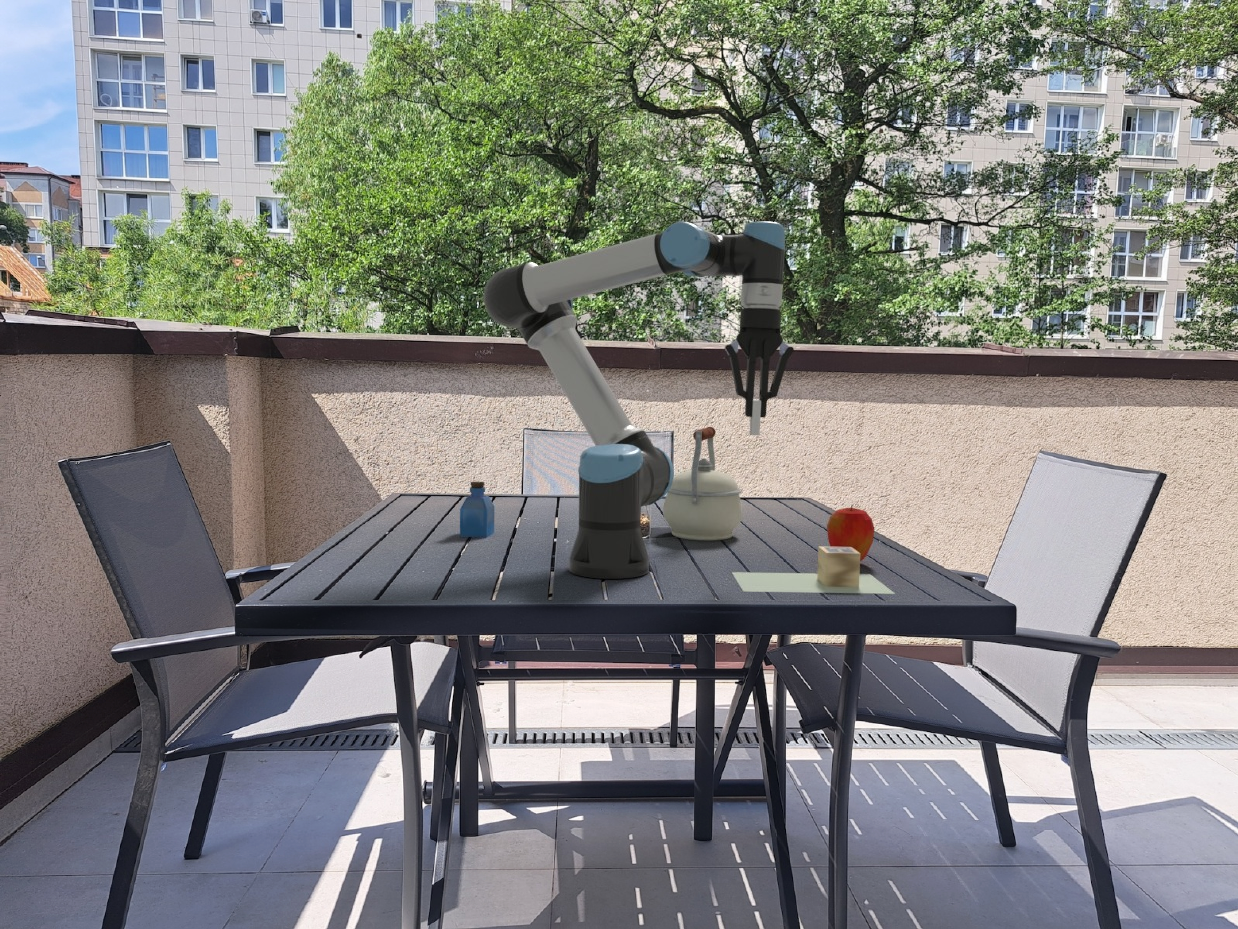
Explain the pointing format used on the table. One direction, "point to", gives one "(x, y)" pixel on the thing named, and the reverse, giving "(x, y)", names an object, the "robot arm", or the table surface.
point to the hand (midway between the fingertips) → (754, 434)
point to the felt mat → (803, 583)
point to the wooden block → (838, 566)
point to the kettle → (703, 498)
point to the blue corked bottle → (477, 513)
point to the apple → (851, 530)
